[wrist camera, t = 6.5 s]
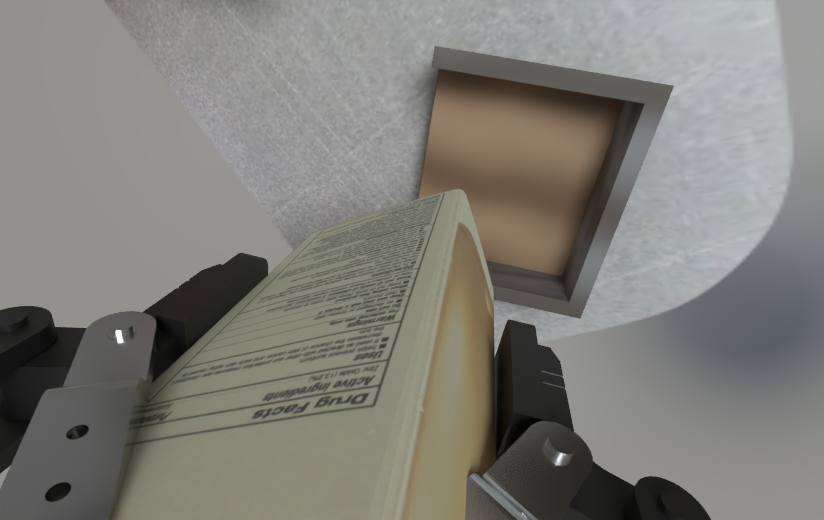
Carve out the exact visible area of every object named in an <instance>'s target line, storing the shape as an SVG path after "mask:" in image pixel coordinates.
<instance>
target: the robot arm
mask: <svg viewBox="0 0 824 520" xmlns="http://www.w3.org/2000/svg"><path fill="white" fill-rule="evenodd" d="M267 276H268V263H267V260H266V259H264V258H261V257H257V256H252V255H248V254H244V253H239V254H237V255H236V256H235V257H233V258H232V259H231V260H229V261H228V262H226V263H225V264H224V265H221V264H219V265H216V266H213V267H210V268H207V269H204V270H202V271H200V272H199V273H198V274H196V275H195V276H193V277H192V278H190V280H189V281H186V282H185V283H184V284H182V285H181V286H179V289H178V288H177V289H175V290H173V291H172V292H171V293H169V294H168V295H166V296H165V297H164V298H162V299H161V300H159V301H158V302H157V303H155V304H154V305H152V306H151V307H149V308H148V309H147V310H145V311H144V312H135V311H126V312H119V313H114V314H111V315H107V316H105V317H102V318H100V319H98V320H96V321H95V322H93V323H92V324H91V325H90V326H89V327H88V328H67V327H55V325H54V322H53V318H52V315H51V313H50V312H49V311H48V310H47V309H44V308H41V307H35V306H20V307H12V308H7V309H3V310H0V473H1V472H3V471H4V470H5V469H6V468H8V467H9V466H10V465H11V466H10V469H9V471H8V473H7V475H6V478H5V480H4V482H3V484H2V486H1V489H0V520H112V519H113V516H114V512H115V509H116V506H117V503H118V499H119V496H120V493H121V490H122V486H123V483H124V480H125V477H126V473H127V470H128V467H129V464H130V460H131V457H132V454H133V449H134V444H135V440H136V438H137V436H138V435H139V432H140V429H141V425H142V422H143V419H144V416H145V413H146V410H147V406H148V403H149V397H150V391H151V385H152V383H153V382H154V381H155V380H156V379H157V378H158V377H159V376H160V375H162V374H163V373H164V372H165V371H166V370H167V369H168V368H169V367H170V366H171V365H172V364H173V363H175V362H176V361H177V360H178V359H179V358H180V357H181V356H182V355H183V354H184V353H185V352H186V351H187V350H188V349H190V348H191V347H192V346H193V345H194V344H195V343H196V342H197V341H198V340H199V339H200V338H201V337H202V336H203V335H205V334H206V333H207V332H208V331H209V330H210V329H211V328H212V327H213V326H214V325H215V324H216V323H217V322H218V321H219V320H221V319H222V318H223V317H224V316H225V315H226V314H227V313H228V312H229V311H230V310H231V309H232V308H233V307H234V306H235V305H236V304H237V303H239V302H240V301H241V300H242V299H243V298H244V297H245V296H246V295H247V294H248V293H249V292H250V291H251V290H253V289H254V288H255V287H256V286H257V285H258V284H259V283H260V282H261V281H262V280H263V279H264V278H266V277H267ZM494 361H495V417H496V463H495V464H494V465H493V466H492V467H491V468H490V469H489V470H488V471H487V472H486V473H485V474H484V475H481V474H480V473H479V472H475V473H473V474H472V475H471V476H469V477H468V478H467V484H466V508H465V520H711V519H710V517H709V515H708V514H707V512H706V511H705V509H704V508H703V507H702V506H701V504H700V503H699V502H698V501H697V500H696V499H695V498H694V497H693V496H692V495H691V494H689V493H688V492H687V491H686V490H684V489H683V488H681V487H680V486H678V485H676V484H675V483H673V482H671V481H668V480H666V479H663V478H660V477H652V476H649V477H644V478H642V479H640V480H639V481H638V482H637V484H636V485H635V486H633V485H631V484H630V483H628V482H626V481H624V480H622V479H620V478H619V477H617V476H615V475H613V474H611V473H609V472H608V471H606V470H604V469H603V468H601V467H600V466H598V465H597V464H596V463H595V462H593V457H592V454H591V451H590V449H589V448H588V446H587V444H586V443H585V442H584V441H583V439H582V438H581V437H580V436H579V435H577V434H576V433H575V432H574V429H573V424H572V419H571V414H570V409H569V404H568V399H567V394H566V390H565V384H564V379H563V378H562V376H563V374H562V369H561V364H560V361H559V360H558V358H557V357H556V355H555V354H554V353H553V351H552V350H551V348H549V347H545V346H541V345H538V343H537V336H536V328H535V326H534V325H530V324H525V323H521V322H517V321H513V320H508V321H507V323H506V326H505V329H504V332H503V335H502V338H501V341H500V344H499V347H498V350H497V353H496V356H495V359H494Z"/></svg>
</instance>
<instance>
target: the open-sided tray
mask: <svg viewBox="0 0 824 520" xmlns="http://www.w3.org/2000/svg"><path fill="white" fill-rule="evenodd" d="M432 67H434V68H439V75H438V81H437V87H436V93H435V99H434V105H433V112H432V118H431V124H430V130H429V136H428V142H427V149H426V155H425V161H424V167H423V173H422V179H421V185H420V192H419V198H418V199H420V198H424V197H427V196H431V195H435V194H439V193H443V192H447V191H450V190H454V189H461V190H463V191H464V192H465V194H466V196H467V199H468V202H469V205H470V209H471V212H472V215H473V218H474V222H475V225H476V228H477V231H478V235H479V238H480V242H481V245H482V249H483V253H484V257H485V260H486V263H487V267H488V271H489V275H490V279H491V283H492V286H493V293H494V299H495V300H500V301H504V302H509V303H513V304H518V305H522V306H527V307H531V308H535V309H540V310H544V311H549V312H553V313H558V314H562V315H567V316H571V317H576V318H581V315H582V313H583V310H584V308H585V305H586V303H587V300H588V298H589V295H590V293H591V290H592V288H593V285H594V283H595V280H596V278H597V276H598V273H599V271H600V268H601V266H602V263H603V261H604V258H605V256H606V253H607V251H608V248H609V246H610V243H611V241H612V238H613V236H614V233H615V231H616V228H617V226H618V223H619V221H620V218H621V216H622V213H623V211H624V208H625V206H626V204H627V201H628V199H629V196H630V194H631V191H632V189H633V186H634V184H635V181H636V179H637V176H638V174H639V171H640V169H641V166H642V164H643V161H644V159H645V156H646V154H647V151H648V149H649V146H650V144H651V141H652V139H653V137H654V134H655V132H656V129H657V127H658V124H659V122H660V119H661V117H662V114H663V112H664V109H665V107H666V104H667V102H668V99H669V97H670V94H671V92H672V89H673V87H674V86H672V85H666V84H660V83H654V82H647V81H641V80H635V79H629V78H623V77H617V76H611V75H605V74H599V73H593V72H587V71H581V70H575V69H569V68H563V67H557V66H551V65H545V64H539V63H533V62H527V61H521V60H515V59H509V58H503V57H497V56H491V55H485V54H479V53H473V52H467V51H461V50H455V49H449V48H443V47H437V46H435V49H434V55H433V62H432Z"/></svg>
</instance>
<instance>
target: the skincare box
mask: <svg viewBox="0 0 824 520" xmlns="http://www.w3.org/2000/svg"><path fill="white" fill-rule="evenodd" d="M495 463H496V417H495V361H494V293H493V286H492V283H491V279H490V275H489V271H488V267H487V263H486V260H485V257H484V253H483V249H482V245H481V242H480V238H479V235H478V231H477V228H476V225H475V222H474V218H473V215H472V212H471V209H470V205H469V202H468V199H467V196H466V194H465V192H464V191H463V190H461V189H454V190H450V191H447V192H443V193H439V194H435V195H431V196H427V197H424V198H420V199H417V200H413V201H410V202H406V203H403V204H399V205H396V206H392V207H389V208H386V209H383V210H380V211H376V212H373V213H370V214H366V215H363V216H360V217H357V218H354V219H351V220H348V221H345V222H342V223H339V224H336V225H333V226H330V227H327V228H324V229H321V230H318V231H316V232H314V233H312V234H311V235H310V236H309V237H308V238H307V239H306V240H304V241H303V242H302V243H301V244H300V245H299V246H298V247H297V248H296V249H295V250H294V251H293V252H292V253H291V254H290V255H288V256H287V257H286V258H285V259H284V260H283V261H282V262H281V263H280V264H279V265H278V266H277V267H276V268H275V269H274V270H273V271H272V272H271V273H270V274H269V275H268V276H267V277H266V278H264V279H263V280H262V281H261V282H260V283H259V284H258V285H257V286H256V287H255V288H254V289H253V290H251V291H250V292H249V293H248V294H247V295H246V296H245V297H244V298H243V299H242V300H241V301H240V302H239V303H237V304H236V305H235V306H234V307H233V308H232V309H231V310H230V311H229V312H228V313H227V314H226V315H225V316H224V317H223V318H222V319H221V320H219V321H218V322H217V323H216V324H215V325H214V326H213V327H212V328H211V329H210V330H209V331H208V332H207V333H206V334H205V335H203V336H202V337H201V338H200V339H199V340H198V341H197V342H196V343H195V344H194V345H193V346H192V347H191V348H190V349H188V350H187V351H186V352H185V353H184V354H183V355H182V356H181V357H180V358H179V359H178V360H177V361H176V362H175V363H173V364H172V365H171V366H170V367H169V368H168V369H167V370H166V371H165V372H164V373H163V374H162V375H160V376H159V377H158V378H157V379H156V380H155V381H154V382H153V383H152V385H151V391H150V397H149V403H148V406H147V410H146V413H145V416H144V419H143V422H142V425H141V429H140V432H139V435H138V436H137V438H136V440H135V444H134V449H133V454H132V457H131V460H130V464H129V467H128V470H127V473H126V477H125V480H124V483H123V486H122V490H121V493H120V496H119V499H118V503H117V506H116V509H115V512H114V516H113V519H112V520H465V508H466V484H467V478H468V477H469V476H471V475H472V474H473V473H475V472H479V473H480V474H481V475H484V474H485V473H486V472H487V471H488V470H489V469H490V468H491V467H492V466H493V465H494V464H495Z"/></svg>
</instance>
